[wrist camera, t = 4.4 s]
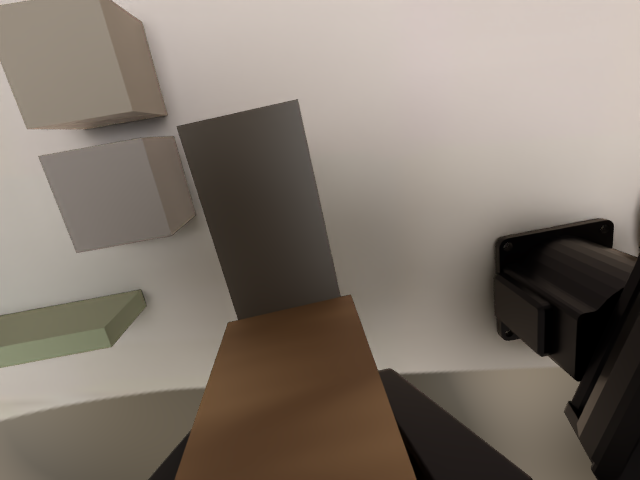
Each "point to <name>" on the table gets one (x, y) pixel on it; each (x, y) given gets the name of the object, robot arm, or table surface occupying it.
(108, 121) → the stone block
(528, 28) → the table surface
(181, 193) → the stone block
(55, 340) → the bin
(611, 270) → the robot arm
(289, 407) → the hoe
